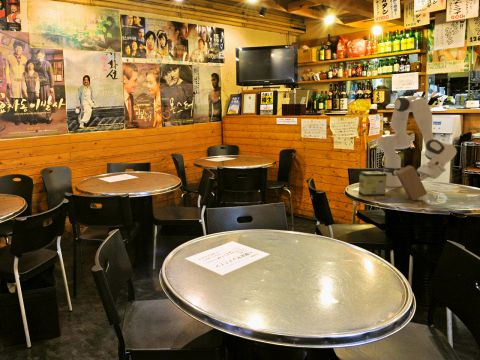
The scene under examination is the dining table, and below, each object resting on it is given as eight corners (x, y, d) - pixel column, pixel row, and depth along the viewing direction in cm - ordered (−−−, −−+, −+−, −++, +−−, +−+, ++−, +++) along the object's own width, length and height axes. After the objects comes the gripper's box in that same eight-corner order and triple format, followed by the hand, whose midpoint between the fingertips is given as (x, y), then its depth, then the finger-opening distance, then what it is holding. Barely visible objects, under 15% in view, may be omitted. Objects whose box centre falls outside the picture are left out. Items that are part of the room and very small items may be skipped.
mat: (374, 198, 282) (374, 198, 282) (405, 198, 284) (405, 197, 284) (382, 203, 270) (382, 202, 269) (415, 202, 272) (415, 202, 271)
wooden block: (422, 191, 282) (409, 164, 281) (427, 193, 272) (413, 166, 271) (408, 198, 284) (395, 171, 282) (413, 201, 274) (399, 173, 272)
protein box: (358, 193, 299) (359, 171, 296) (379, 192, 301) (380, 171, 298) (363, 196, 289) (364, 173, 286) (385, 196, 290) (387, 173, 288)
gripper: (424, 159, 285) (409, 174, 286) (441, 163, 265) (425, 179, 265) (430, 165, 286) (414, 180, 287) (447, 170, 266) (431, 186, 267)
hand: (419, 180), depth 276 cm, fingers closed
